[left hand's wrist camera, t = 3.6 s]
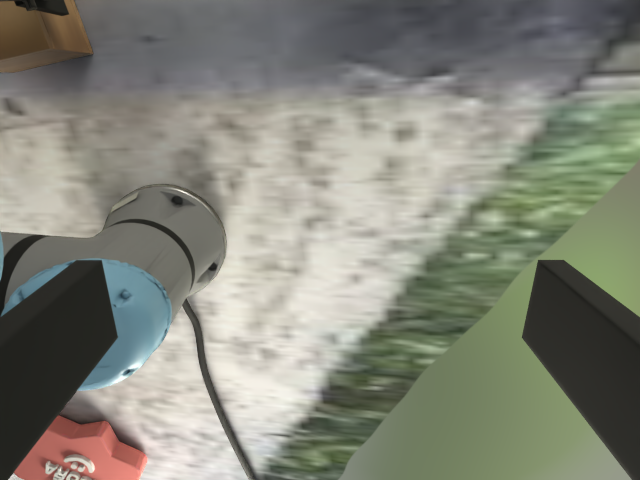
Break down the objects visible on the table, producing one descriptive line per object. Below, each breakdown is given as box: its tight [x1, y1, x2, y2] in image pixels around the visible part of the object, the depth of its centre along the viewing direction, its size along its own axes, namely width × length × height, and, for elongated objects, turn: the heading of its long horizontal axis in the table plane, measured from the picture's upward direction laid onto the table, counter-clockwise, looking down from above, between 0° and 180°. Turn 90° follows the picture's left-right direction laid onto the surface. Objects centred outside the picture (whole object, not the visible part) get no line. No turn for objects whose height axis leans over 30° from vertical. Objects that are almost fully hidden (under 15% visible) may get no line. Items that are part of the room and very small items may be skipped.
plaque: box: [14, 415, 147, 480], centre depth 66 cm, size 18×4×15 cm
